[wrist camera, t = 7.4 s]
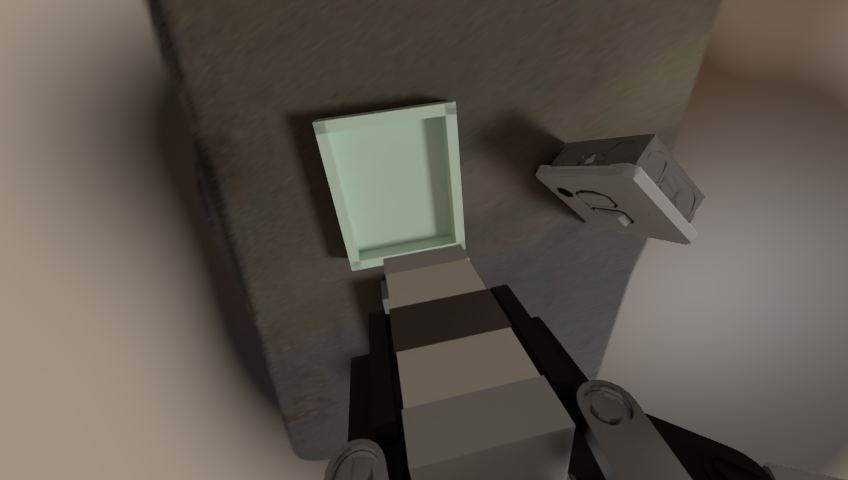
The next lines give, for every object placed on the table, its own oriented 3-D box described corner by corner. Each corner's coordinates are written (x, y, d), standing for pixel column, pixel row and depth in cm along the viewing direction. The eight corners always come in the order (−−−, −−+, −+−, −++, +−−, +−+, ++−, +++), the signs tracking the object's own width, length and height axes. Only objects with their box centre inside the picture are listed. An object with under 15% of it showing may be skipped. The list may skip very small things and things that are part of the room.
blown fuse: (382, 258, 13) (408, 469, 6) (460, 244, 13) (575, 424, 6) (395, 320, 14) (428, 548, 7) (464, 305, 15) (560, 509, 8)
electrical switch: (529, 172, 28) (609, 197, 20) (567, 122, 27) (668, 126, 19) (588, 225, 32) (677, 265, 23) (624, 183, 31) (729, 208, 22)
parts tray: (316, 119, 23) (312, 122, 21) (448, 100, 24) (455, 101, 22) (352, 258, 29) (352, 271, 27) (458, 238, 30) (465, 249, 28)
